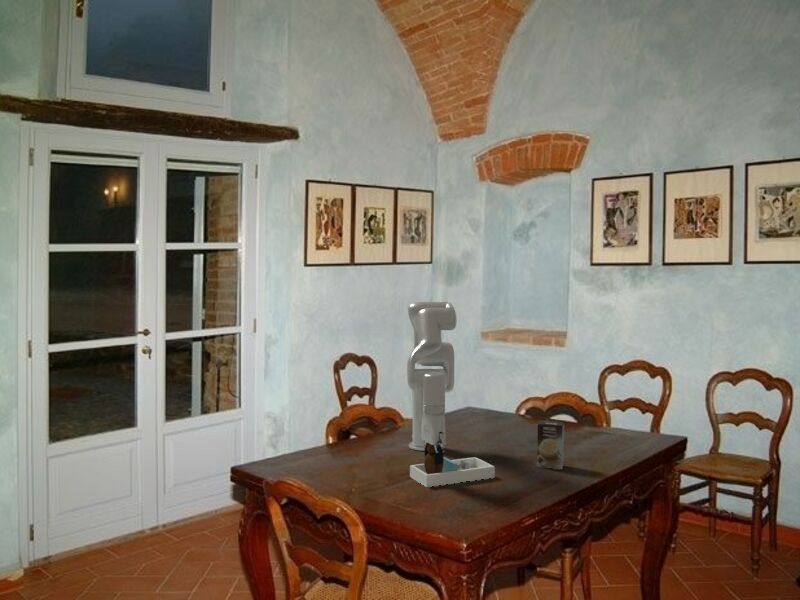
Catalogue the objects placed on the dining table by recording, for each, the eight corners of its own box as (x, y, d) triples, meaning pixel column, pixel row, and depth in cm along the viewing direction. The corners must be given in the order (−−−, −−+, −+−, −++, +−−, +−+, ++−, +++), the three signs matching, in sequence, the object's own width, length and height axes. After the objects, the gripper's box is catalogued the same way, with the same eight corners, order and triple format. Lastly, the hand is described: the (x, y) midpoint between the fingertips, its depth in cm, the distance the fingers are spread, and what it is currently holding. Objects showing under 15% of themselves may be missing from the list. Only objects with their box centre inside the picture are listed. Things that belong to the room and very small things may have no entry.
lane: (410, 476, 242) (410, 465, 242) (475, 468, 253) (475, 457, 253) (426, 487, 231) (426, 475, 230) (494, 478, 241) (494, 466, 241)
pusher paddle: (440, 470, 245) (440, 456, 245) (458, 467, 248) (459, 454, 248) (453, 478, 236) (453, 463, 236) (473, 475, 239) (473, 461, 239)
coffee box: (536, 467, 254) (536, 423, 253) (538, 462, 260) (539, 420, 259) (562, 470, 251) (562, 425, 250) (563, 465, 257) (564, 421, 256)
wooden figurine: (436, 478, 235) (436, 434, 234) (421, 475, 238) (421, 431, 237) (446, 473, 240) (446, 430, 240) (431, 470, 243) (431, 428, 243)
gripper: (413, 405, 244) (413, 456, 245) (435, 415, 228) (435, 469, 229) (432, 403, 247) (432, 453, 248) (456, 413, 231) (455, 466, 232)
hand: (433, 460), depth 239 cm, fingers closed on wooden figurine, 6 cm apart
